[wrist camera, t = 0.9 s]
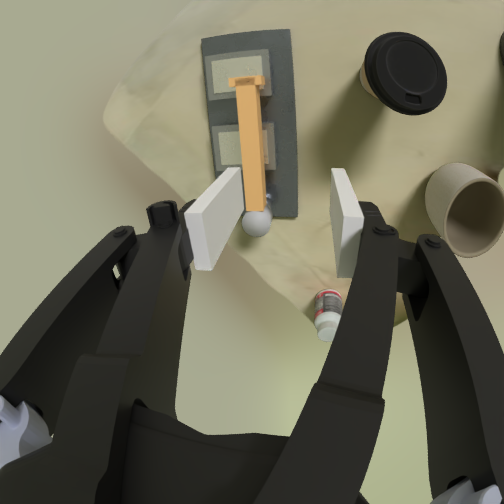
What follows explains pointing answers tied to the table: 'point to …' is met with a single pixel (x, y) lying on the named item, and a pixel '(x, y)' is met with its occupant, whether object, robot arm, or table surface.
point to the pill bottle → (327, 313)
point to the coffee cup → (404, 73)
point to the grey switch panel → (272, 109)
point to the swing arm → (252, 154)
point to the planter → (465, 208)
